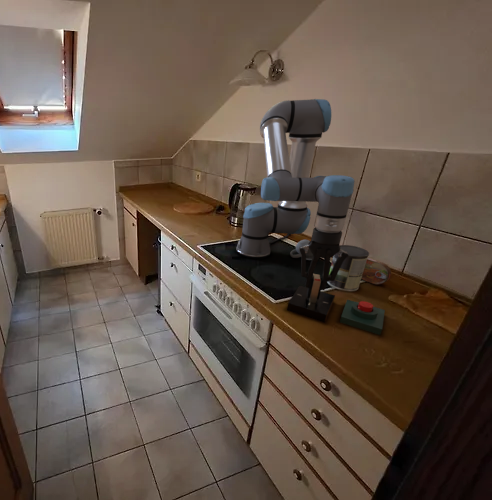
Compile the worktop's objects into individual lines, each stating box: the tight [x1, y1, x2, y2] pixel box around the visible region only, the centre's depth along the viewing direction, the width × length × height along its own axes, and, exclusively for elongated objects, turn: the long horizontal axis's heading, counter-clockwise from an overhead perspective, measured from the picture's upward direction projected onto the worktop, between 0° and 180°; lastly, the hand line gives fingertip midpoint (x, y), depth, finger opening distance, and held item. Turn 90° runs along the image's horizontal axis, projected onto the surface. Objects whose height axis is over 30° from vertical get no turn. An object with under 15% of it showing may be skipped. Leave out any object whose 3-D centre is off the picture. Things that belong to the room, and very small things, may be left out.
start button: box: [358, 300, 374, 312], centre depth 91 cm, size 4×4×2 cm
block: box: [339, 299, 385, 336], centre depth 92 cm, size 12×10×4 cm
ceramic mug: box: [289, 239, 313, 261], centre depth 134 cm, size 11×8×8 cm
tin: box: [361, 257, 392, 285], centre depth 114 cm, size 15×3×8 cm, turn 24°
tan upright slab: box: [309, 273, 321, 303], centre depth 97 cm, size 5×2×8 cm, turn 156°
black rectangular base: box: [286, 285, 336, 323], centre depth 99 cm, size 14×11×3 cm
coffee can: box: [326, 244, 370, 292], centre depth 109 cm, size 10×10×14 cm
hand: (312, 296), depth 98 cm, fingers closed on tan upright slab, 2 cm apart
